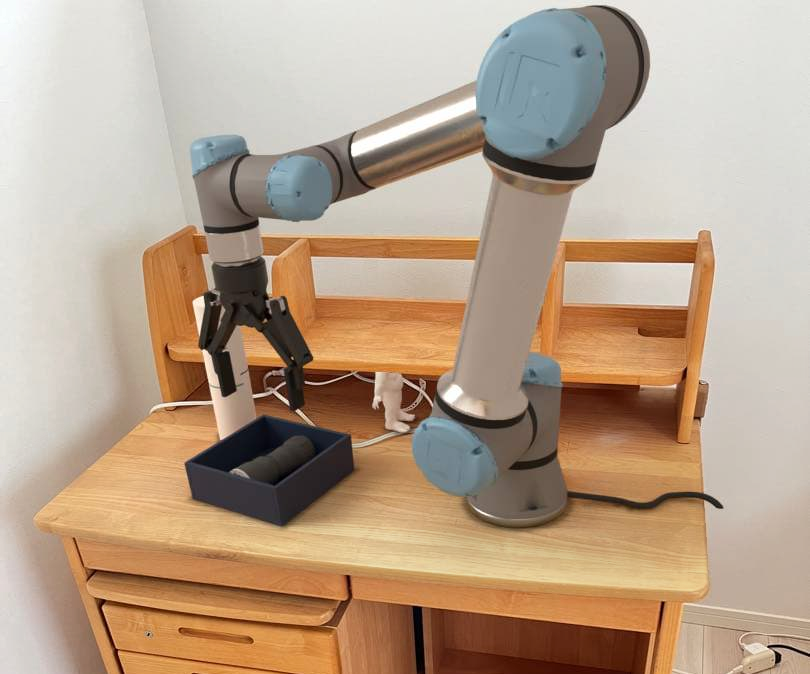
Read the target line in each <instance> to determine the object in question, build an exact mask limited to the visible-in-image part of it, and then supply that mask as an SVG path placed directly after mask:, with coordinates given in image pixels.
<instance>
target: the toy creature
mask: <svg viewBox="0 0 810 674" xmlns="http://www.w3.org/2000/svg"><path fill="white" fill-rule="evenodd" d="M374 373H375V377H374V381H375V382H374V392H373V393H374V397H373V401H372V403H371V404H372V405H371V406H372V409H374V410H379V409H380V407H379V403H381V402H382V404H383V406H384V409H385V410H384V418H385V423H384V427H385V429H386V430H389V431H393V432H394V431H395V432H398V433H400V434H405V433H407V432H409V431H410V430H411V426H409V424H406V423H404V422H414V420H415V419H416V415H415V414H412V413H411V414H410V413H407V412H405V411H402V410H401V404H402V401H403V395H402V394H403V393H402V388H403V387H404V378H403V375H402V374H401V373H400V374H399V373H389V372H375V371H374Z"/></svg>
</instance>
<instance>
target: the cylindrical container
mask: <svg viewBox="0 0 810 674" xmlns="http://www.w3.org/2000/svg"><path fill="white" fill-rule="evenodd" d="M192 308H193V313H194V317H195V321H196V327H197V331H198V332H197V333H198V336H199V337H200V331H201V325H202V320H203V314H204V308H205V304H204V296H203V295H202V296H198V297H197V298H195V299H193V300H192ZM224 312H225V309H224V307H223V306H222V308H221V314H220V319H219V324H218V328H219V326H220V324H221V322H220V320H221V318H222V316H223V314H224ZM217 330H218V329H217ZM199 337H198V338H199ZM225 348H227V349H225V350H223V352H225V351H229V353H230V358H231V363H232V368H233V373H234V379H235V384H236V389H237V391H236V392H234V393H233V394H231V395H229V396H227V397H222V395H221V390H220V385H219V380H218V376H217V374H216V373H215V371H214V367H213V362H212V357H211V355H209V353H208V351H206V350H205V349H204V350H201V351H202V356H203V361H204V367H205V370H206V371H205V372H206V377H207V380H208V386H209V392H210V397H211V400H212V407H213V411H214V416H215V422H216V426H217V432H218V436H219V441H221V440H222V439H224V438H226V437H227V436H229V435H231V434H232V433H234V432H235V431H237V430H239V429H240V428H242V427H244V426H245V425H247V424H249V423H250V422H252V421H253V420H255V419H257V418H258V417H257V413H256V406H255V400H254V395H253V389H252V384H251V383H252V382H251V377H250V372H249V366H248V360H247V353H246V349H245V343H244V337H243V330H242V326H236V327H235V329H234V331H233V333H232V335H231V337H230V339H229V341H228V343H227V345H226V347H225Z"/></svg>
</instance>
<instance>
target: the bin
mask: <svg viewBox="0 0 810 674" xmlns="http://www.w3.org/2000/svg"><path fill="white" fill-rule="evenodd" d="M256 418H257V419H255V420H253V421H252V422H250V423H249V424H247V425H245V426H244V427H242V428H240V429H239V430H237V431H235V432H234V433H232V434H231V435H229V436H227V437H226V438H224V439H222V440H219V441H217V442H216V443H214V444H212V445H211V446H209V447H207V448H206V449H204V450H202V451H201V452H200V453H197V454H196V455H194V456H193V457H191V458H189V459H188V460H186V461H185V462H184V463H183V464H184V468H185V473H186V477H187V480H188V485H189V489H190V494H191V499H192V500H195V501H197V502H202V503H205V504H208V505H212V506H214V507H218V508H221V509H223V510H227V511H231V512H234V513H237V514H240V515H243V516H247V517H250V518H253V519H257V520H260V521H263V522H266V523H269V524H273V525H276V526H279V527H284V526H285V525H286V524H287V523H289V522H290V521H291V520H292V519H294V518H295V517H296V516H297V515H299V514H300V513H301V512H303V511H304V510H306V508H308V507H309V506H310V505H311V504H313V503H314V502H315V501H317V500H318V499H319V498H321V497H322V496H323V495H324V494H326V493H327V492H328V491H330V490H331V489H332V488H334V487H335V486H336V485H337V484H338V483H340V482H341V481H342V480H344V479H345V478H346V477H348V476H349V475H351V474H352V473H353V472H354V471H355V461H354V452H353V442H352V435H351V433H346V432H341V431H337V430H333V429H330V428H329V429H328V428H324V427H320V426H315V425H311V424H308V423H307V424H306V423H303V422H299V421H295V420H290V419H285V418H281V417H277V416H273V415H269V414H264V413H263V414H262V415H260V416H258V417H256ZM294 436H305V437H307V438H308V439H309V440H310V441H311V442H312V444H313V446H314V449H315V457H314V458H313V459H312V460H310V461H309V462H307V463H306V464H305V465H303V466H302V467H300V468H299V469H296V470H294V471H292V472H291V473H287V474H286V475H284V476H282V477H281V478H279V479H278V480H277V482H276V483H275V484H274V485H271V484H267V483H263V482H260V481H256V480H253V479H249V478H246V477H242V476H239V475H235V474H231V473H229V472H230V471H232V470H233V469H235V468H237V467H239V466H240V465H242V464H244V463H246V462H251V461H253V460H254V459H256V458H258V457H260V456H263V457H265V456H266V455H268V454H270V453H272V452H273V451H275V449H277V448H279V447H281V446H282V445H283V444H284V442H285V441H287V440H288V439H290V438H292V437H294Z"/></svg>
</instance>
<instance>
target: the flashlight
mask: <svg viewBox="0 0 810 674" xmlns="http://www.w3.org/2000/svg"><path fill="white" fill-rule="evenodd" d="M314 457H315V449H314V446H313V444H312V442H311V441H310V440H309V439H308V438H307V437H305V436H294V437H292V438H290V439H288V440H287V441H285V442H284V444H283V445H282V446H281V447H279V448H277V449H275V451H273V452H272V453H270V454H268V455H266V456H265V457H263V456H260V457H258V458H256V459H254V460H253V461H251V462H246V463H244V464H242V465H240V466H239V467H237V468H235V469H233V470H232V471H230V472H229V473H231V474H235V475H239V476H242V477H246V478H249V479H253V480H256V481H260V482H263V483H267V484H271V485H274V484H275V483H276V482H277V480H278V479H279V478H281V477H282V476H284V475H286V474H287V473H291V472H292V471H294V470H296V469H299V468H300V467H302V466H303V465H305V464H306V463H307V462H309V461H310V460H312V459H313V458H314Z"/></svg>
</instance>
